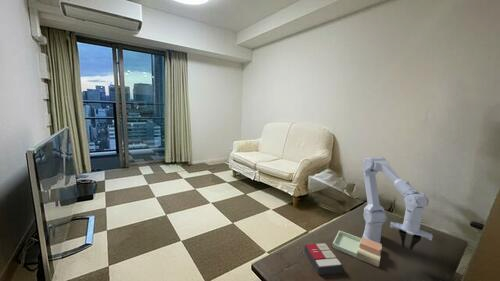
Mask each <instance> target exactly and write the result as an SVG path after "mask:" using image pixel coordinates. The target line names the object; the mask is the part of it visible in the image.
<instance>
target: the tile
mask: <svg viewBox="0 0 500 281" xmlns="http://www.w3.org/2000/svg"><path fill="white" fill-rule="evenodd" d="M361 238H362V240H361V243H360V248H361V249H363V250H366V251H368V252H371V253H374V254H376V255H379V254H380V248H381V244H382V243H381V242H380V243H377V242H374V241H372V240H369V239H366V238H363V236H361Z"/></svg>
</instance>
